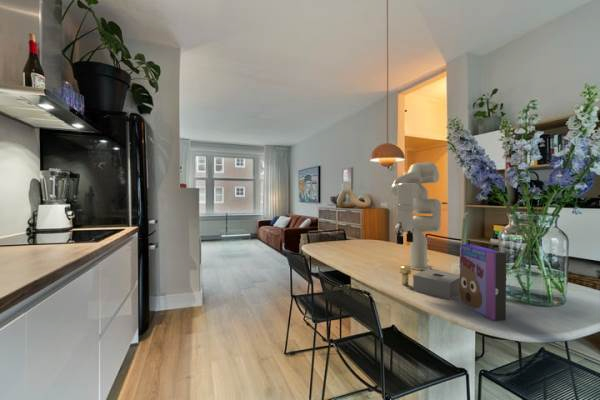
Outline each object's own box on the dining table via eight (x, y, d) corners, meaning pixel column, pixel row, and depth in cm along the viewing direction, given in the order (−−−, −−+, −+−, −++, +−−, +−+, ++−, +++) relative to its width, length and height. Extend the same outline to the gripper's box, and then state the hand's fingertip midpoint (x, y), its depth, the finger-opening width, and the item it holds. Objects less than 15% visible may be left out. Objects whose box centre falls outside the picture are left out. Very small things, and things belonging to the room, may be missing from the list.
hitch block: (428, 282, 138) (428, 268, 138) (463, 290, 127) (463, 275, 126) (413, 289, 128) (413, 274, 128) (450, 299, 116) (450, 283, 116)
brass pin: (402, 282, 139) (402, 264, 138) (412, 285, 135) (412, 266, 135) (397, 284, 135) (397, 266, 135) (407, 287, 131) (407, 268, 131)
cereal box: (459, 301, 113) (459, 244, 113) (470, 301, 114) (470, 243, 113) (493, 321, 96) (493, 252, 96) (505, 320, 96) (506, 252, 96)
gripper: (406, 207, 143) (406, 240, 143) (388, 208, 132) (388, 244, 132) (420, 207, 137) (420, 242, 138) (403, 208, 126) (403, 246, 126)
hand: (405, 242), depth 135 cm, fingers open, 9 cm apart
